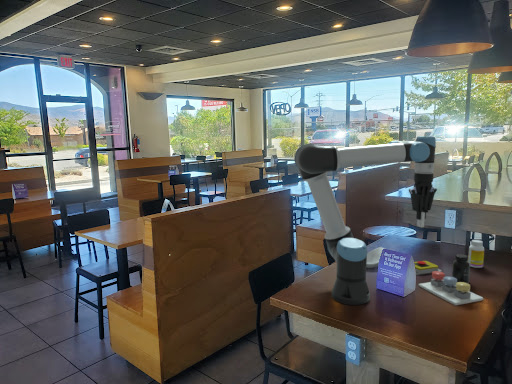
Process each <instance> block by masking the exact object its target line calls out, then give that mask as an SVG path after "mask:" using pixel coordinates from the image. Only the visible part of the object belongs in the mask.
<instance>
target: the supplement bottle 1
mask: <svg viewBox="0 0 512 384" xmlns="http://www.w3.org/2000/svg"><path fill="white" fill-rule="evenodd" d="M468 256H469V255H466V254H461V253H459V254H456V255H455V260H453V262H452V271H451V273H452V274H451V277H454V278H456V279H457V282H464V283H468V284H469V282H470V275H471V274H470V273H471V266H470V263H469V262H468Z"/></svg>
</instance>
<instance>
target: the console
mask: <svg viewBox="0 0 512 384" xmlns="http://www.w3.org/2000/svg"><path fill="white" fill-rule="evenodd" d="M443 281H444V280H440V281H439V282H437V281H436V279H434V278H431V279H430V281H428V282H423V283H418V287H420V288H422V289H423V290H425V291H427V292H429V293H431V294H433V295H435V296H436V297H438V298H441V299H443V300H445V301H446V302H448V303H450V304H451V305H453V306H459V305H464V304H469V303H471V304H472V303H475V302H480V301H484V297H483V296H481V295H478V294H476V293H474V292H473V291H471V290H470V291H469V292H465V293H464V294H462V293H460V291H459V290H457V289H456V285H455V286H452V287H448V285H446V284H444V283H443Z"/></svg>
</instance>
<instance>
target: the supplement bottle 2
mask: <svg viewBox="0 0 512 384" xmlns="http://www.w3.org/2000/svg"><path fill="white" fill-rule="evenodd" d="M467 256H468V261H467V262H469V263H470V268H475V269H481V268H483V267H484V259H485V247H484V246H483V241H482V240H480V239H479V240H478V239H472V240H471V244H470V245H469V247H468V255H467Z"/></svg>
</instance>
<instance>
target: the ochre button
mask: <svg viewBox="0 0 512 384" xmlns="http://www.w3.org/2000/svg"><path fill="white" fill-rule="evenodd" d="M456 289H457V290H459V291H460V293H462V294H464V293H465V292H469V291H470V292H471V284H469V283H464V282H457V283H456Z"/></svg>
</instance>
